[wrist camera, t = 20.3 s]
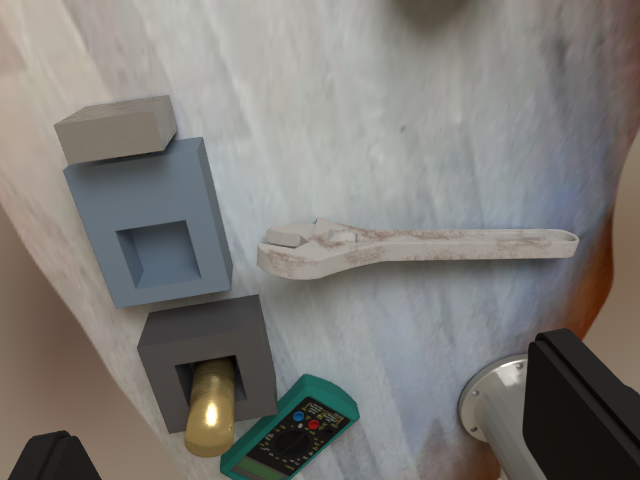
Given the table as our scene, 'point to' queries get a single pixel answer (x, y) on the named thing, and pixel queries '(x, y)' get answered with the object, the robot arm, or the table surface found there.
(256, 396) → the grey slotted block
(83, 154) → the plug block
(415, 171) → the table surface
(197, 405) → the peg
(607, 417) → the robot arm
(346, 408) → the digital multimeter
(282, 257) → the wrench
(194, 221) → the socket block
